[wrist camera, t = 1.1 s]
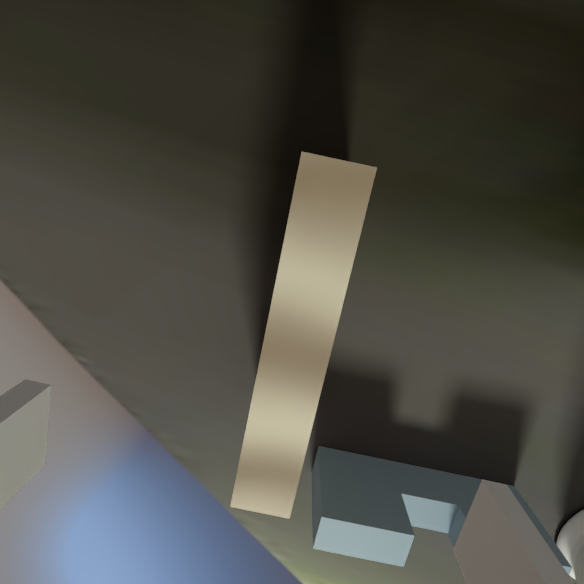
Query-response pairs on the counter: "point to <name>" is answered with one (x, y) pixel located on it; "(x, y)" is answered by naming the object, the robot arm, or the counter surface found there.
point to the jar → (573, 545)
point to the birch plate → (301, 328)
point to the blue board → (390, 506)
